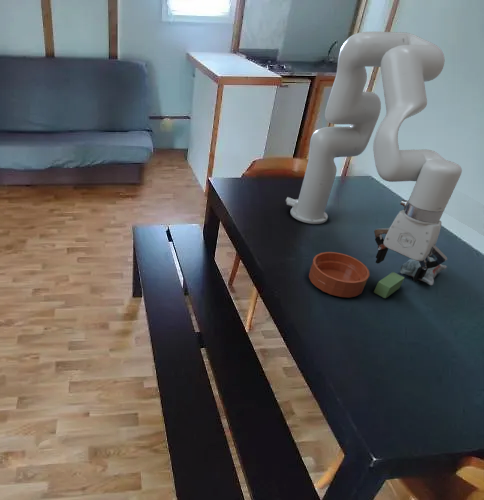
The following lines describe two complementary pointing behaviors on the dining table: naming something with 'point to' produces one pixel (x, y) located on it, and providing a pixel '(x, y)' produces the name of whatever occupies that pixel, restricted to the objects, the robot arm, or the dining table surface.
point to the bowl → (338, 274)
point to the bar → (388, 285)
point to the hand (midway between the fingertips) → (397, 270)
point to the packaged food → (413, 265)
